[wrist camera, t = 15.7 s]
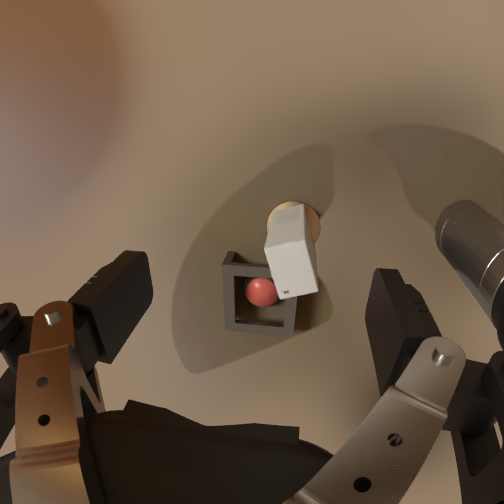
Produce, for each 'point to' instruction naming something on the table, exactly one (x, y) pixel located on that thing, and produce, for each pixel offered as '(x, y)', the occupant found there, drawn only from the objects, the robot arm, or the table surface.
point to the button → (260, 291)
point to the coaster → (311, 216)
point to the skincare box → (291, 252)
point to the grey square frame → (230, 303)
